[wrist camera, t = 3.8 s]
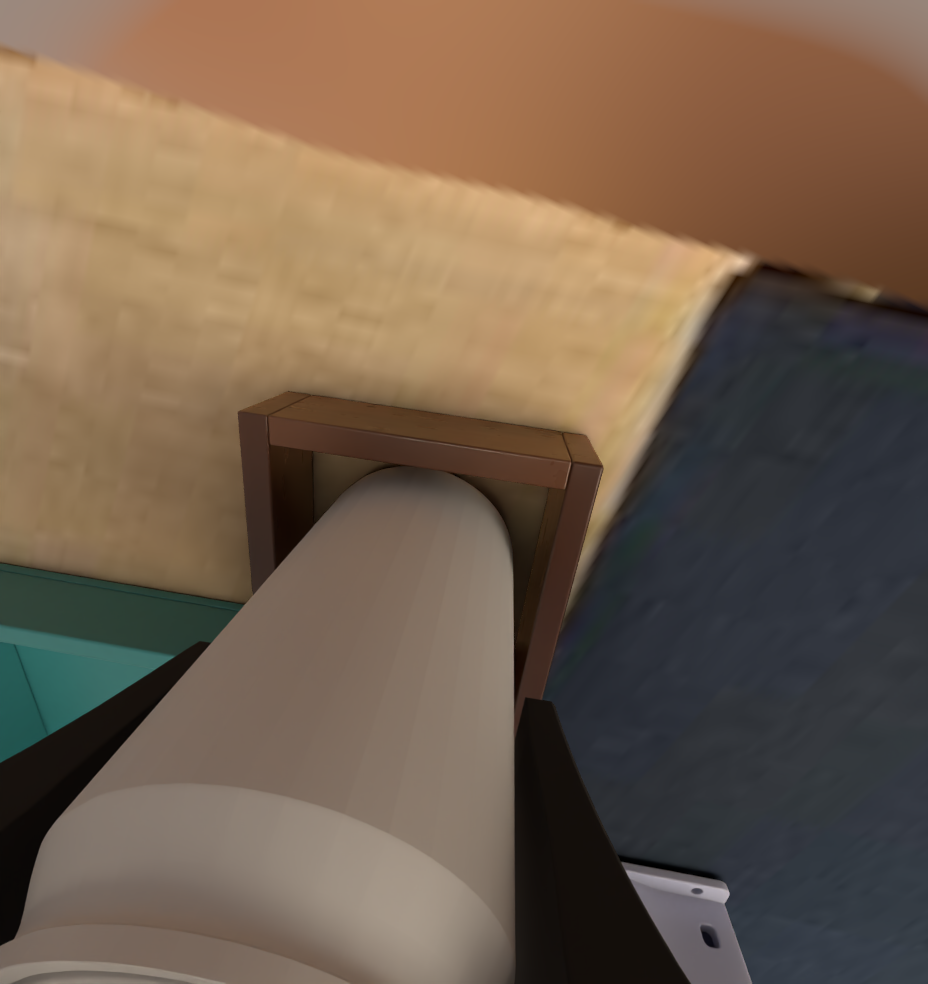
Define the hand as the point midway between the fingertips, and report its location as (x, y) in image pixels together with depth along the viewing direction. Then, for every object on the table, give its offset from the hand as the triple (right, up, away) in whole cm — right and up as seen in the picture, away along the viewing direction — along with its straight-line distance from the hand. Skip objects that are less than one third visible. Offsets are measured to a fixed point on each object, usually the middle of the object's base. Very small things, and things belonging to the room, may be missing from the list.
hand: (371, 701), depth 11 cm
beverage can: (+1, +3, +5) cm, 6 cm away
